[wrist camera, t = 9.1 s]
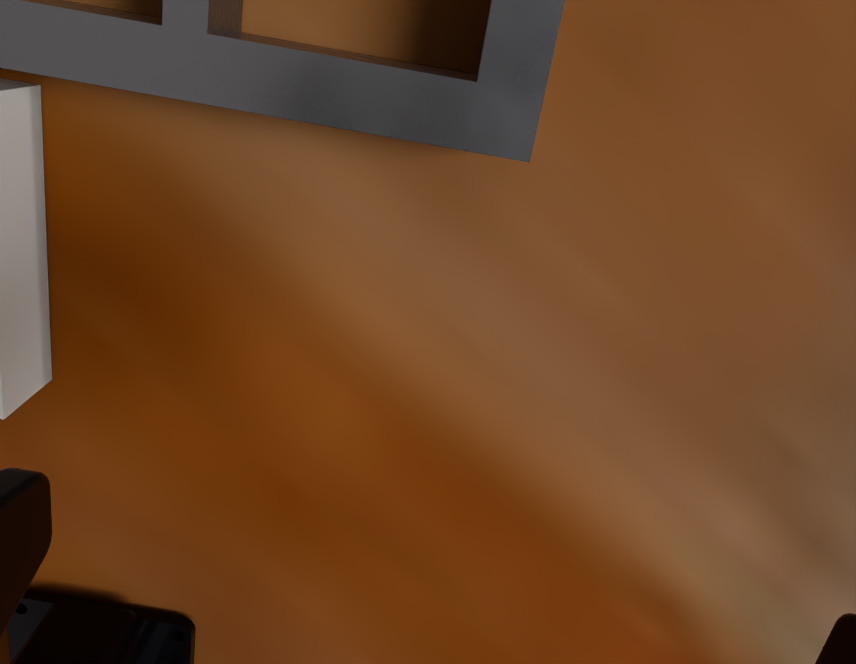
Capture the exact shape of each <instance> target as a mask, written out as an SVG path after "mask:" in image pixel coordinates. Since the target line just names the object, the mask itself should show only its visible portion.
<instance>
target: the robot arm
mask: <svg viewBox="0 0 856 664" xmlns="http://www.w3.org/2000/svg"><path fill="white" fill-rule="evenodd" d="M51 537H52V518H51V495H50V483H49V480H48V478H47V476H46V475H44V474H43V473H41V472H36V471H30V470H24V469H18V468H6V469H2V470H0V638H1V636H2V634H3V632H4V630H5V629H6V627H7V628H8V641H9V654H10V664H194V648H195V630H196V629H195V625H194V624H193V622H192V621H191V620H189V619H188V618H186V617H183V616H177V615H172V614H166V613H160V612H154V611H149V610H143V609H137V608H131V607H126V606H120V605H114V604H108V603H103V602H97V601H91V600H85V599H79V598H74V597H68V596H62V595H56V594H51V593H45V592H39V591H33V590H28V587H29V585H30V583H31V581H32V579H33V578H34V576H35V574H36V572H37V570H38V569H39V567H40V565H41V563H42V561H43V560H44V558H45V556H46V554H47V551H48V549H49V546H50V542H51ZM23 604H24V605H23ZM177 630H178V631H181V632H182V633H181V632H178V631H177ZM815 664H856V614H852V613H848V614H844V615H842V616H841V617H840V618H838V620H837V621H836V623H835V625H834V627H833V629H832V631H831V633H830V635H829V637H828V639H827V641H826V643H825V645H824V647H823V649H822V651H821V653H820V655H819V657H818V659H817V661H816V663H815Z"/></svg>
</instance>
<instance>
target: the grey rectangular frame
mask: <svg viewBox="0 0 856 664" xmlns="http://www.w3.org/2000/svg"><path fill="white" fill-rule="evenodd" d="M564 1H565V0H491V1H490V6H489V12H488V17H487V23H486V28H485V34H484V39H483V45H482V50H481V56H480V61H479V67H478V72H477V75H475V74H470V73H464V72H459V71H453V70H448V69H442V68H436V67H431V66H425V65H420V64H414V63H409V62H403V61H397V60H392V59H386V58H381V57H375V56H370V55H364V54H358V53H353V52H347V51H342V50H336V49H331V48H325V47H320V46H314V45H308V44H303V43H297V42H292V41H286V40H281V39H275V38H269V37H264V36H258V35H253V34H247V33H242V32H241V21H242V4H243V0H163V9H162V18H158V17H153V16H147V15H141V14H136V13H130V12H125V11H119V10H114V9H108V8H102V7H97V6H91V5H86V4H80V3H75V2H69V1H63V0H0V68H5V69H11V70H16V71H22V72H27V73H33V74H39V75H44V76H50V77H55V78H61V79H67V80H72V81H78V82H83V83H89V84H95V85H100V86H106V87H111V88H117V89H123V90H128V91H134V92H139V93H145V94H151V95H156V96H162V97H167V98H173V99H178V100H184V101H190V102H195V103H201V104H206V105H212V106H218V107H223V108H229V109H234V110H240V111H246V112H251V113H257V114H262V115H268V116H274V117H279V118H285V119H290V120H296V121H301V122H307V123H313V124H318V125H324V126H329V127H335V128H341V129H346V130H352V131H357V132H363V133H369V134H374V135H380V136H385V137H391V138H397V139H402V140H408V141H413V142H419V143H425V144H430V145H436V146H441V147H447V148H452V149H458V150H464V151H469V152H475V153H480V154H486V155H492V156H497V157H503V158H508V159H514V160H520V161H525V162H530V157H531V153H532V148H533V144H534V139H535V134H536V130H537V125H538V121H539V116H540V111H541V107H542V102H543V98H544V93H545V88H546V84H547V79H548V75H549V70H550V65H551V61H552V56H553V52H554V47H555V42H556V38H557V33H558V29H559V24H560V19H561V15H562V10H563V6H564Z"/></svg>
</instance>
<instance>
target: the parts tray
mask: <svg viewBox="0 0 856 664" xmlns="http://www.w3.org/2000/svg"><path fill="white" fill-rule="evenodd" d="M51 380H52V367H51V342H50V316H49V290H48V264H47V238H46V213H45V187H44V161H43V135H42V109H41V85H37V84H32V83H26V82H21V81H15V80H9V79H4V78H0V419H5V418H6V417H8V416H9V415H10V414H11V413H12V412H14V411H15V410H16V409H17V408H18V407H20V406H21V405H22V404H23V403H24V402H25V401H27V400H28V399H29V398H30V397H31V396H33V395H34V394H35V393H36V392H37V391H39V390H40V389H41V388H42V387H43V386H45V385H46V384H47V383H48V382H49V381H51Z"/></svg>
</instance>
